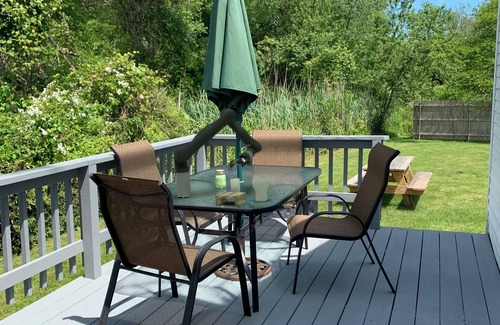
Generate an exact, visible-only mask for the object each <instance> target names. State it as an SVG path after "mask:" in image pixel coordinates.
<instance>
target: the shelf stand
mask: <svg viewBox="0 0 500 325" xmlns="http://www.w3.org/2000/svg"><path fill="white" fill-rule="evenodd" d="M214 199H215V201H214V202H215V205H216V204H221V205H223V204H225V203H227V202H228V199H230V200H232V199H235V200H234V206H235V207H240V206H242V205H244V204H245V203H247V192H244V191H243V192H242V191H240V192H231V191H222V192H219V193H217V194H216V195H214ZM226 201H227V202H226ZM222 203H223V204H222Z"/></svg>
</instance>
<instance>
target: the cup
mask: <svg viewBox="0 0 500 325" xmlns="http://www.w3.org/2000/svg"><path fill="white" fill-rule="evenodd" d="M251 182H252V187H253V189H254V192H255V202H266V201H268V194H267V193H268V189H269V186H270V179H269V176H268V175H255V176H253V177H252V181H251Z"/></svg>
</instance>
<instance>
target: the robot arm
mask: <svg viewBox="0 0 500 325" xmlns="http://www.w3.org/2000/svg"><path fill="white" fill-rule="evenodd" d="M236 116H237V115H236V111H235V110H234V109H231V108H224V109H222V110H221V111H220V112H219V117H218V118H217V119H216V120H214V121H212V122H210V123H209V124H207V125H205V126H204V127H203V128H202V129H200V130H199V131H198V132H197V133H196V134H195V136H194V137H193V139H192V140H191V141H190V142H189V143H188V144H186V145H185V146H184V147H183V148H182V147H179V148H176V149H175V151H174V152H173V160H174V161H173V163H174V169H175V180H176V190H177V191H176V192H177V198H178V197H189V196H191V197H192V186H191V174H190V172H191V171H190V167H189V160H190V159H191V158H192V157H193V155H194V154H195V153H197V151H199V150H200V149H202V147H204V146H205V145H206V144H208V143H209V142H210V141H211V140H212V139H214V137H215V136H216V135H217V134H218V133H220V132H221V131H222V130H223V129H224V128H225V127H226V126H228V127H229V128H230V129H231V130H232V131H233V132H234V133H235V135H236V136H238V137H237V138H239V139H240V140H241V142H242V143H243V144H244V145H246V146H247V148H246V149H245V150H244V151H243V152H242V153H240V155H239V156H238V158H237V159H236V160H235V159H232V160H231V161H229V163H228V164H229V168H230V169H233V167H235V166H236V167H237V166H239V165H240V167H241V168H244V167H245V166H247V165H250V164H251V163H252V159H253V158H254V157H255V154H257V153H260V152H261V151H262V150H263V147H262V145H261V144H262V143H260V142H259V141H257V140H256V139H255V138H254V137H252V136H251V135H250V133H249V132H248V131H247V130H246V129H245V128H244V127H243V126H241V124H240V123H239V122H238V121H236ZM189 198H190V197H189Z"/></svg>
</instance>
